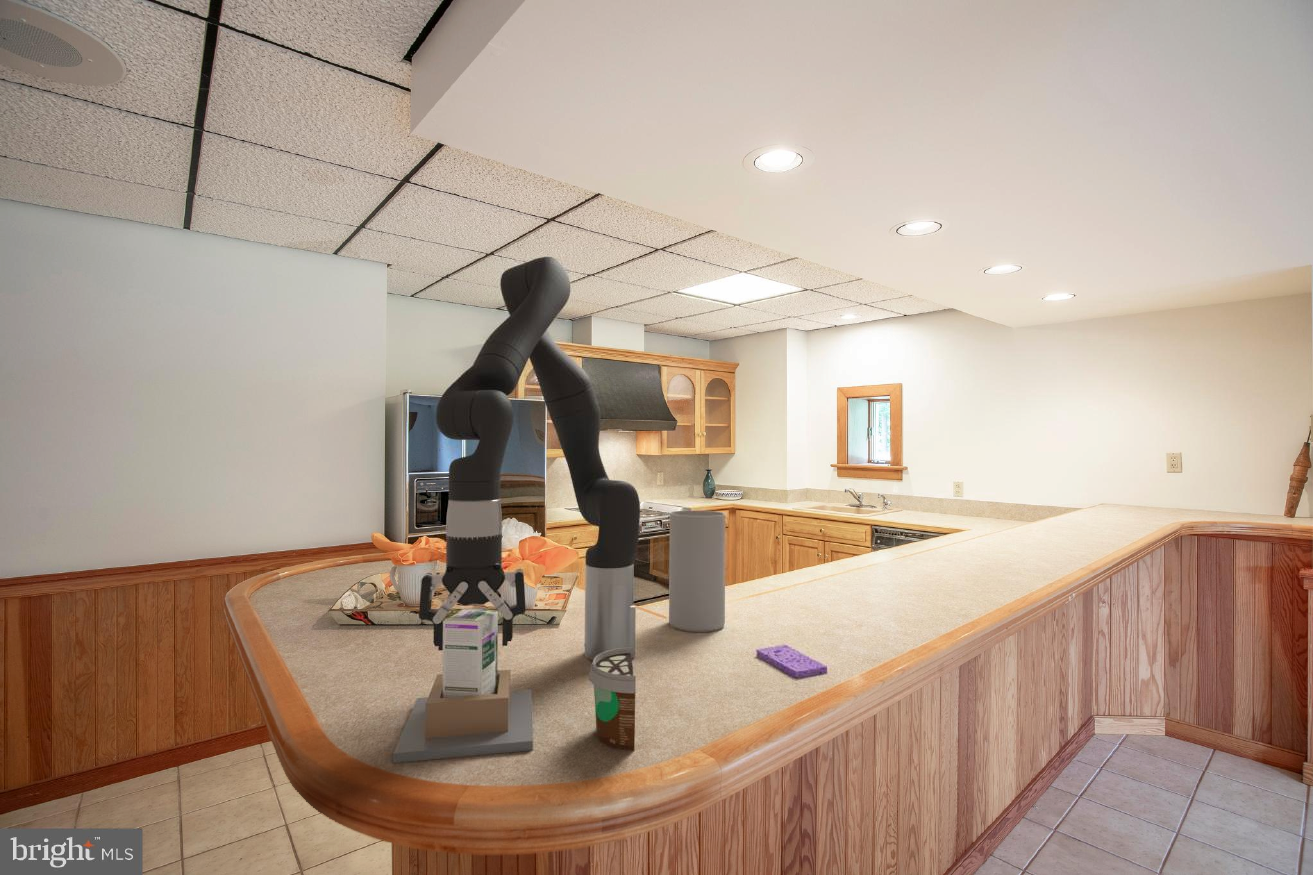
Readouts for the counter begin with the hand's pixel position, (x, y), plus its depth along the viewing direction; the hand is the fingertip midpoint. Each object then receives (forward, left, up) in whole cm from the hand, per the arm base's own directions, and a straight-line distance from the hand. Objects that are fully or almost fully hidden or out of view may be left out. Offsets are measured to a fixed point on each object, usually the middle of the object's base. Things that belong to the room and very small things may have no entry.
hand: (473, 646), depth 85 cm
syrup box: (0, 0, -10) cm, 10 cm away
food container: (-19, +6, -11) cm, 23 cm away
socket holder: (0, 0, -11) cm, 11 cm away
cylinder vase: (-45, -42, -11) cm, 62 cm away
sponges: (-55, -15, -12) cm, 58 cm away
